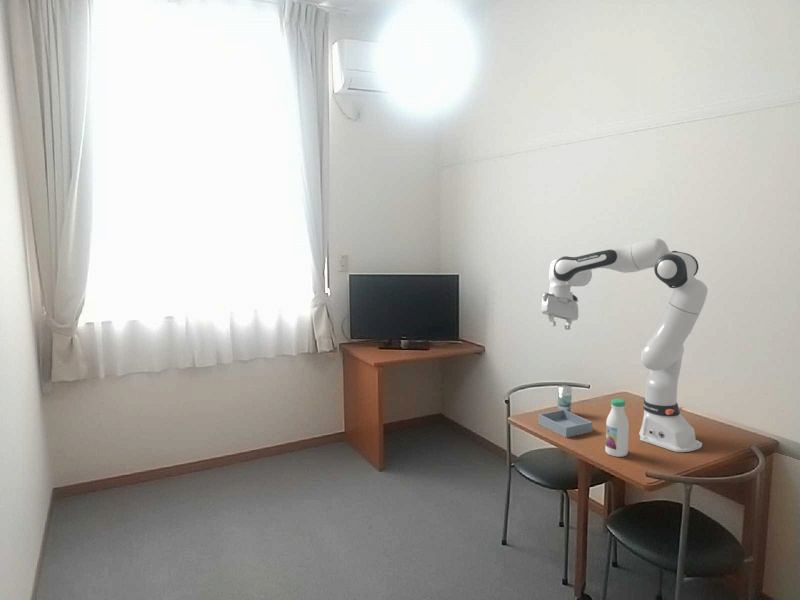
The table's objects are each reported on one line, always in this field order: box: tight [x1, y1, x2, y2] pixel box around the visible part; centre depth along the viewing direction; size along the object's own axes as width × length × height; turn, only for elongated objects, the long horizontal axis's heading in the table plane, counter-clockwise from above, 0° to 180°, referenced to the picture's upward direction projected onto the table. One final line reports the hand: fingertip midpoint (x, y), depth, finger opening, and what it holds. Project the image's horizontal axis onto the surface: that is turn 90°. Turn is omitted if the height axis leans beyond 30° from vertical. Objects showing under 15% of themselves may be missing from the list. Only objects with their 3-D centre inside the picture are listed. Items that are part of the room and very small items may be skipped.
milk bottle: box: [604, 398, 630, 458], centre depth 201 cm, size 8×8×20 cm
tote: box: [537, 409, 593, 439], centre depth 228 cm, size 17×13×4 cm
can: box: [557, 385, 573, 413], centre depth 244 cm, size 6×6×12 cm
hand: (560, 327), depth 234 cm, fingers open, 8 cm apart
